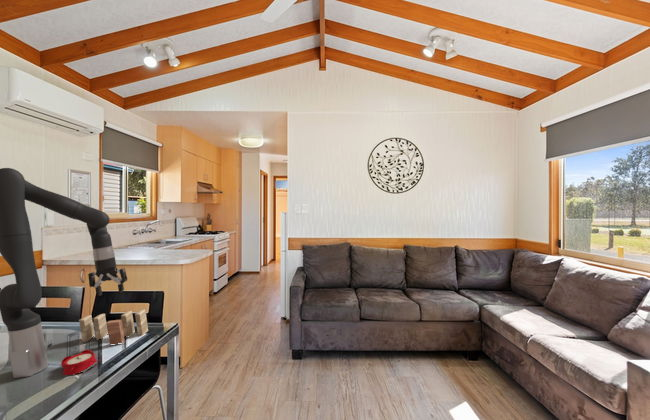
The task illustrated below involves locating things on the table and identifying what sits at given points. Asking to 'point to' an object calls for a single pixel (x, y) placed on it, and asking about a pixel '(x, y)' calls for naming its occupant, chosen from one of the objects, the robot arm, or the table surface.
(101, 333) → the domino
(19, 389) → the table surface
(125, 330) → the domino
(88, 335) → the domino
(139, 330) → the domino
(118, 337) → the gap domino
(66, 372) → the alarm clock
